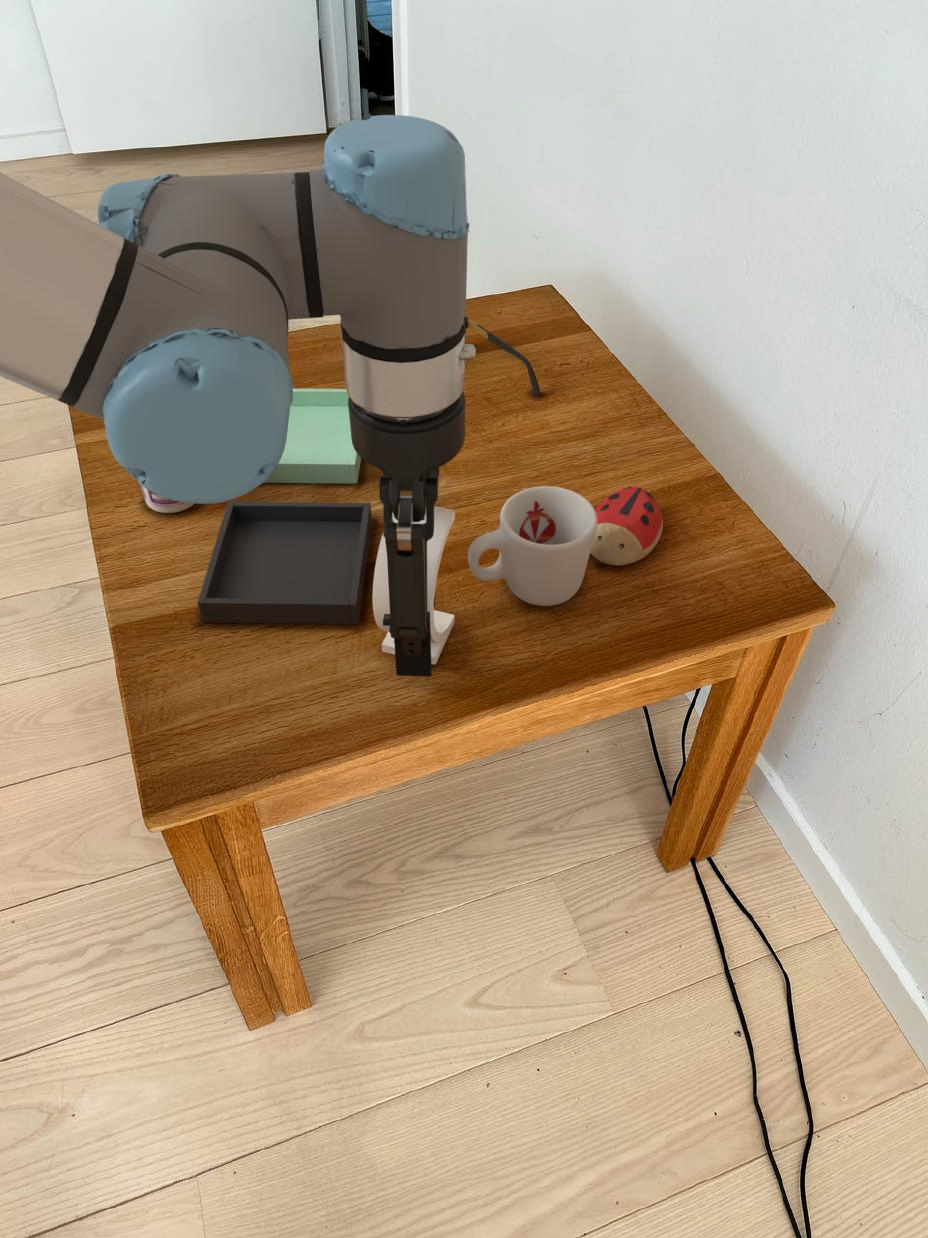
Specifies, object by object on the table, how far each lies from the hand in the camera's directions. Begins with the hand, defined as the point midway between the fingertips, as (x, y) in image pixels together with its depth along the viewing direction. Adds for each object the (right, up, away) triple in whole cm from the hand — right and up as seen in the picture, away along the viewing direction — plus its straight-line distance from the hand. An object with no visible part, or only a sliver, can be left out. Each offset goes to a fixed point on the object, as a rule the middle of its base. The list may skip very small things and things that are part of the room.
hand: (416, 636), depth 75 cm
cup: (+9, +4, +6) cm, 12 cm away
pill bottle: (-24, +13, +15) cm, 31 cm away
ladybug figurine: (+19, +9, +11) cm, 23 cm away
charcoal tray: (-12, +6, +7) cm, 15 cm away
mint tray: (-13, +20, +21) cm, 31 cm away
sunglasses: (+2, +27, +28) cm, 39 cm away
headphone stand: (0, 0, +1) cm, 1 cm away
